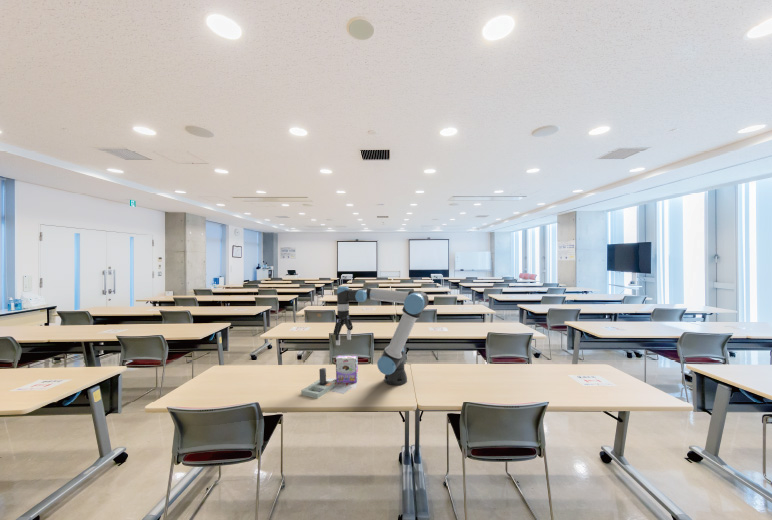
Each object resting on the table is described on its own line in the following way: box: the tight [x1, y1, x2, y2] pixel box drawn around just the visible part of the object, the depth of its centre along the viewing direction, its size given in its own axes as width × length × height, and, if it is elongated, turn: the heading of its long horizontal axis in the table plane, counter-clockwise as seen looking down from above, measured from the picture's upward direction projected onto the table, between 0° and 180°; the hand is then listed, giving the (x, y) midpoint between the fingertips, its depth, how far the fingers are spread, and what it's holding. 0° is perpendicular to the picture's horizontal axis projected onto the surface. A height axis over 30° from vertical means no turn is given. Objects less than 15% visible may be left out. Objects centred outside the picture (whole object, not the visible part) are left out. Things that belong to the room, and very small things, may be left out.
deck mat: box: [330, 384, 353, 395], centre depth 197 cm, size 10×10×1 cm
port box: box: [300, 378, 336, 399], centre depth 196 cm, size 12×18×3 cm, turn 156°
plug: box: [319, 367, 327, 386], centre depth 200 cm, size 4×4×12 cm
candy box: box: [335, 355, 359, 384], centre depth 210 cm, size 14×6×16 cm, turn 84°
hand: (343, 342), depth 208 cm, fingers open, 13 cm apart
